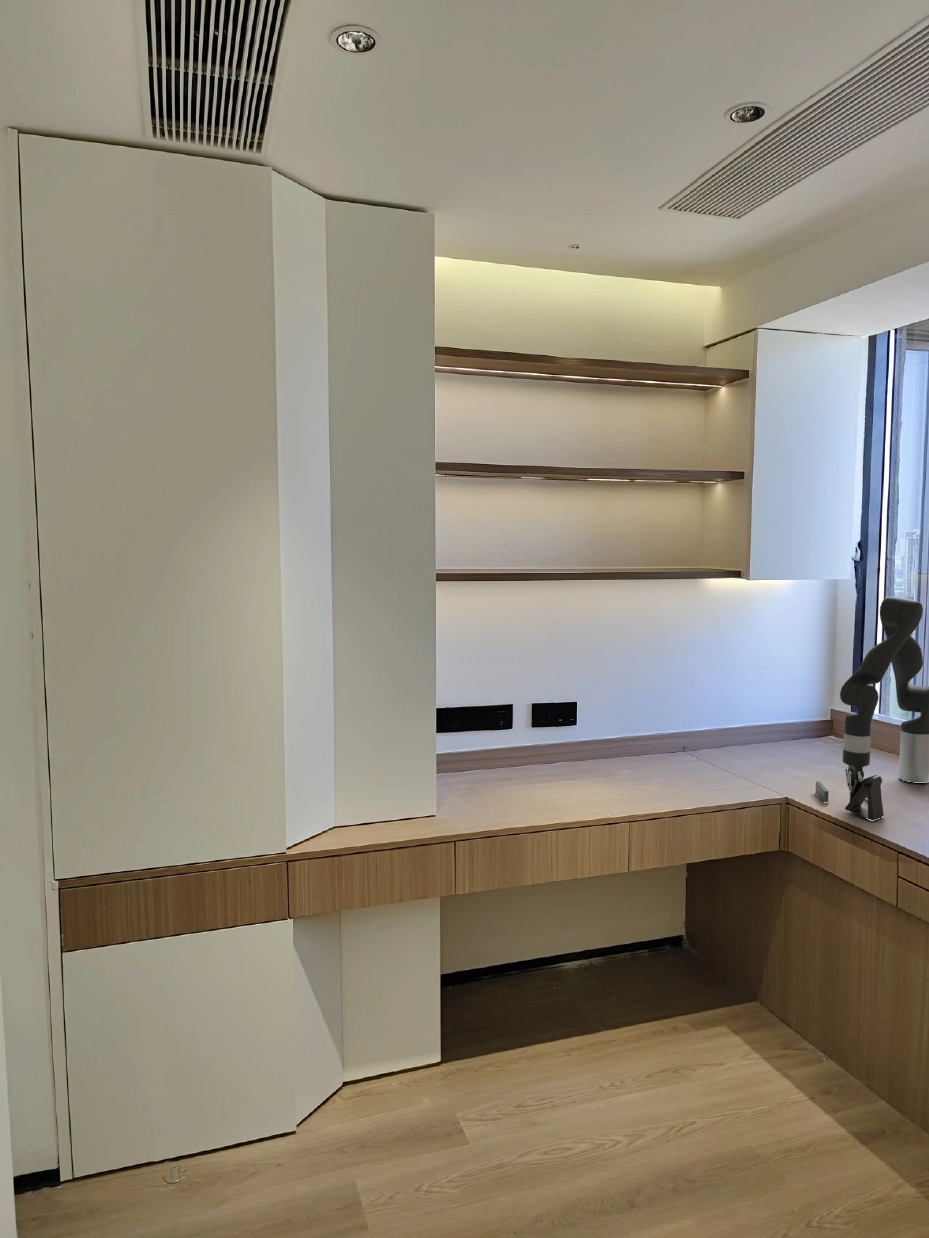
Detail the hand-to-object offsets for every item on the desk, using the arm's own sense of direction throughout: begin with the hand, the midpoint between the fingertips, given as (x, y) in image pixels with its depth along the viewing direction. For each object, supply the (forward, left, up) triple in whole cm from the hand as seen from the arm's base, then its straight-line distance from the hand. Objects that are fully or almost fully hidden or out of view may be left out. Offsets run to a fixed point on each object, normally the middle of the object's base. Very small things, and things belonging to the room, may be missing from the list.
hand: (853, 803), depth 252 cm
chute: (-11, +1, -2) cm, 12 cm away
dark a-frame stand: (+5, +1, -2) cm, 6 cm away
